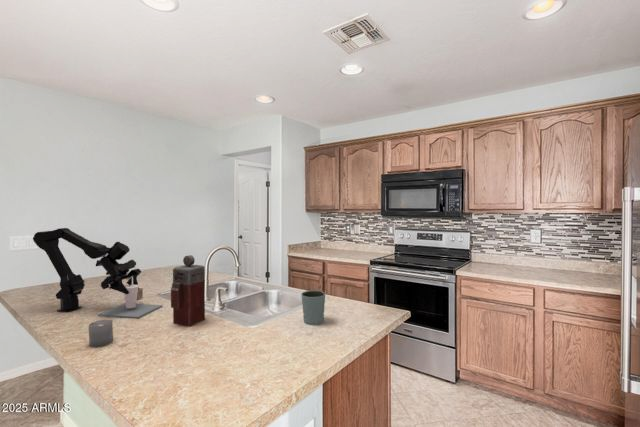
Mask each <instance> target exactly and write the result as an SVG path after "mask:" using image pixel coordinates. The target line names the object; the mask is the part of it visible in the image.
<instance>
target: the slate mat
mask: <svg viewBox="0 0 640 427" xmlns="http://www.w3.org/2000/svg"><path fill="white" fill-rule="evenodd" d="M161 308H163V304H149V303H136V307H134V308H126V302H124V303H122V304H120V305H116V306H114V307H112V308H110V309H107V310H104V311H102V312H99V313H97V317H108V318H120V319H121V318H123V319H137V320H138V319H140V318H142V317H144V316H145V317H146V316H147V315H149V314H151V313H153V312H155V311H157V310H159V309H161Z"/></svg>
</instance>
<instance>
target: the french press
mask: <svg viewBox="0 0 640 427" xmlns="http://www.w3.org/2000/svg"><path fill="white" fill-rule="evenodd" d="M182 263H183V264H184V265H179V266H176V267H173V269H172V283H171V287H170V308H172V311H173V312H172V313H173V314H172V317H173V318H172V319H173V320H172V322H173V323H172V324H174V325H178V326H184V327H192V326H194V325H196V324H198V323H200V322H203V321H204V320H205V319H206V308H205V307H206V304H205V303H206V300H205V298H206V296H205V295H206V294H205V293H206V292H205V290H206V282H205V281H206V279H205V278H206V276H205V274H206V273H205V272H206V271H205V266H204V265H203V264H202V265H201V264H195V257H194V256H193V255H191V254H189V255H186V256H183V260H182Z"/></svg>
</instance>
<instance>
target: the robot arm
mask: <svg viewBox="0 0 640 427" xmlns="http://www.w3.org/2000/svg"><path fill="white" fill-rule="evenodd" d="M59 239H62V240H64V241H66V242H68V243H70V244H72V245H73V246H75V247H76V248H79V249H81V250H82V251H83V254H84V255H86V256H87V257H88V258H90V259H92V260H96V259H99V258H100V259H99V260H96V263H95V267H103V269H104V270H105V271H106V272H105V275H106V277H105V278H104V279H103V280H102V281H101V282H100V287H101V288H102V289H103V290H106V289H109V290H114V291H117V292H120V293H122V294H124V293H125V294H129V292H128V290H127V289H126V287H125V286H126V285H124V283H123V280H127V281H126V284H127V285H132V277H133V285H139V283H138V278H137V277H138V276H139V275H140V274H141V273H142V271H141V269H139V268H136V266H137V262H136V261H135V259H130V260H128V261H127V262H124V263H119V262H118V261H120V260H122V259H123V258H124V257H125V256H126V255H127V254H128V253H129V252H130V248H129V246H128V245H127V244H125V243H122V242H120V241H115V243H114V244H113V245H112V246H111V247H107V245H104V244H102V243H99V242H94V241H91V240H90V239H88V238H85V237H84V236H82V235H79V234H77V233H76V232H74V231H72V230H70V228H67V227H61V228H56V229H53V230H46V231H45V230H43V231H37V232H36V233H34V234H33V237H32V240H33V242H34V244H35V245H36V246H37V247H38V248H40V249H41V250H43V251H44V252H45V253H46V255H47V257H48V259H49V260H50V262H51V264H52V266H53V268H54V269H55V271H56V273H57V275H58V276H59V278H60V279H59V286H60V290H59V291H58V292H56V294H55V297H56V299H57V300H59V301H60V308H59V309H57V310H56V312H63V313H64V312H65V313H66V312H68V313H70V312H73V311H75V310H78V309H81V308H82V306H81V305H79V304H80V301H79V300H80V299H79V295H81V294H82V292H83V290H84V288H85V285H86V284H85V280H84V279H83V277H82V275H81V274H77V275H76V274H75V273H74V272H73V271H72V268H71V267H70V265H69V263H68V261H67V260H66V257H65V256H64V255H63V252H62V251H61V249H60V247H59V244H60V240H59ZM134 268H135V269H134ZM139 288H140V287H139ZM139 288H138V290H139Z"/></svg>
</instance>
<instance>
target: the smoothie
mask: <svg viewBox="0 0 640 427" xmlns="http://www.w3.org/2000/svg"><path fill="white" fill-rule="evenodd" d="M124 286H125V287H126V289H127V290H128V292H129V294H125V293H123V295H124V301H125V302H124V303H126V308H134V307H136V304H137V301H138V300H137V293H138V288H140V285H139V284H138V285H133V277H132V285H129V284H127V285H124Z"/></svg>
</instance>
